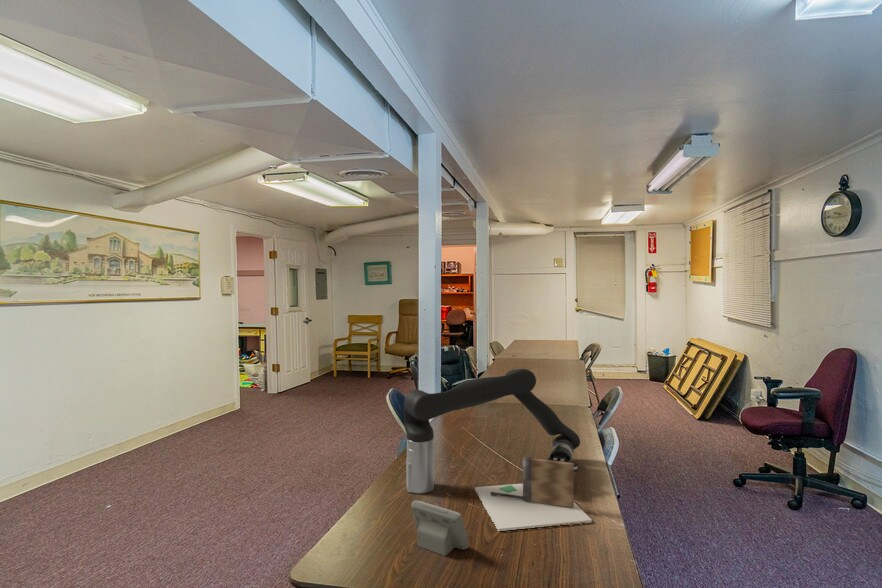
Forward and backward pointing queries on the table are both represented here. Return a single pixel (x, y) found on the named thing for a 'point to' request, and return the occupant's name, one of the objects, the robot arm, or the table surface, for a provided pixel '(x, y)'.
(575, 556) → the table surface
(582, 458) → the table surface
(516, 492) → the thin white panel
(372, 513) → the table surface
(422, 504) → the digital clock
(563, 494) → the wooden board with post
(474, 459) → the table surface
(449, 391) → the robot arm
